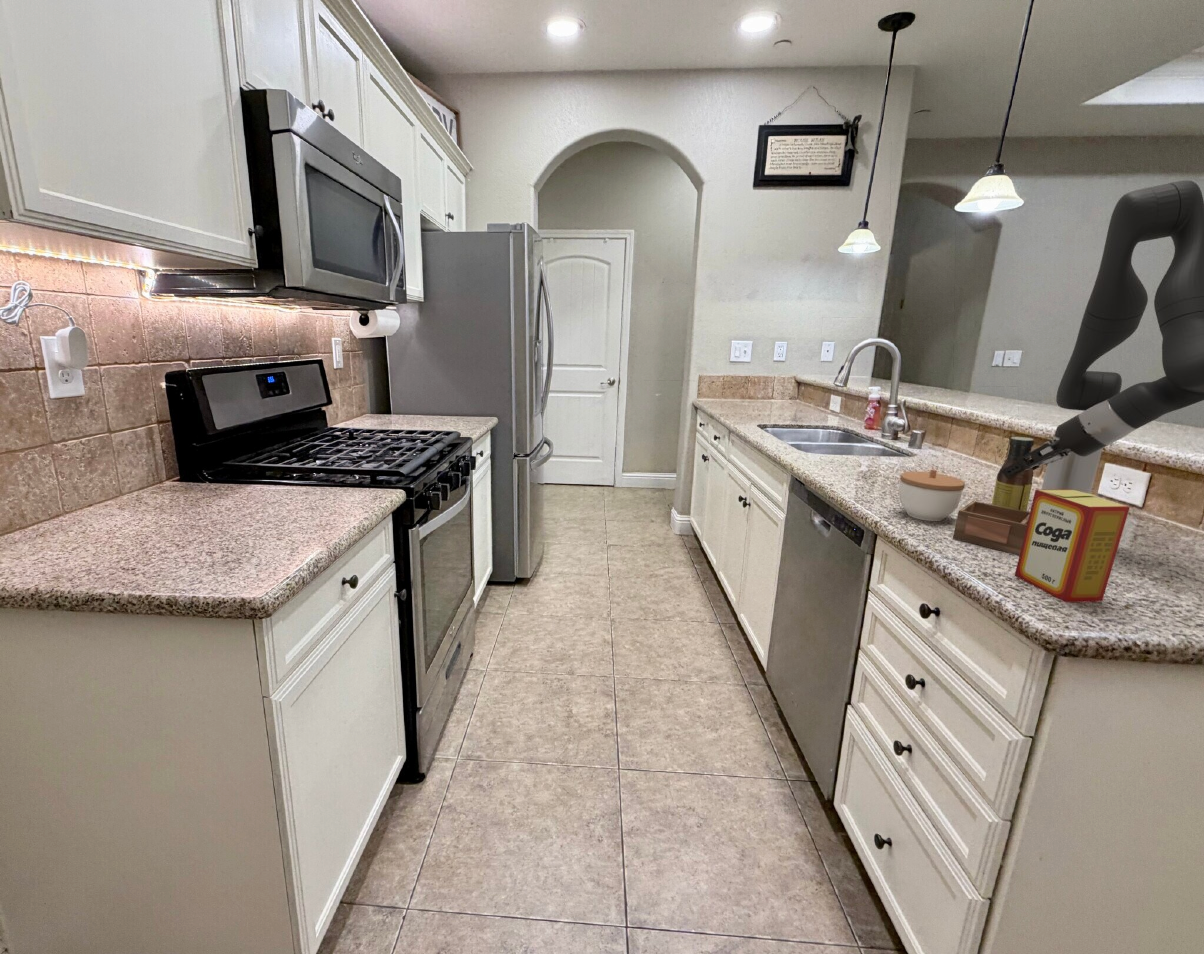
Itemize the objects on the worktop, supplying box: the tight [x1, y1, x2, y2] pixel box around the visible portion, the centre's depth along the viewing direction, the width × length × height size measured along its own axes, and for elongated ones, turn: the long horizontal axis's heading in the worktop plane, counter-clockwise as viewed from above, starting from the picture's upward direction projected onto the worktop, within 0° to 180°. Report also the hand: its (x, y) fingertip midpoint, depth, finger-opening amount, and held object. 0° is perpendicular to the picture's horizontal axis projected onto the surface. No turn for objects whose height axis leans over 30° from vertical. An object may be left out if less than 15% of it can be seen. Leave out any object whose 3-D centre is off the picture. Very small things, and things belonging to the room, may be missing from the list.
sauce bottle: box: [991, 436, 1035, 512], centre depth 116 cm, size 6×6×20 cm
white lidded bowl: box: [898, 468, 966, 522], centre depth 123 cm, size 13×13×11 cm
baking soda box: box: [1014, 489, 1131, 603], centre depth 88 cm, size 10×6×16 cm
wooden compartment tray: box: [952, 500, 1030, 556], centre depth 106 cm, size 11×21×6 cm, turn 43°
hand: (1013, 472), depth 116 cm, fingers open, 8 cm apart
